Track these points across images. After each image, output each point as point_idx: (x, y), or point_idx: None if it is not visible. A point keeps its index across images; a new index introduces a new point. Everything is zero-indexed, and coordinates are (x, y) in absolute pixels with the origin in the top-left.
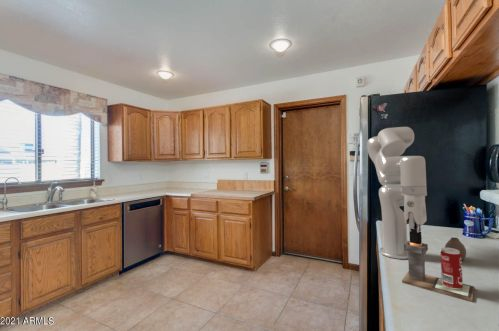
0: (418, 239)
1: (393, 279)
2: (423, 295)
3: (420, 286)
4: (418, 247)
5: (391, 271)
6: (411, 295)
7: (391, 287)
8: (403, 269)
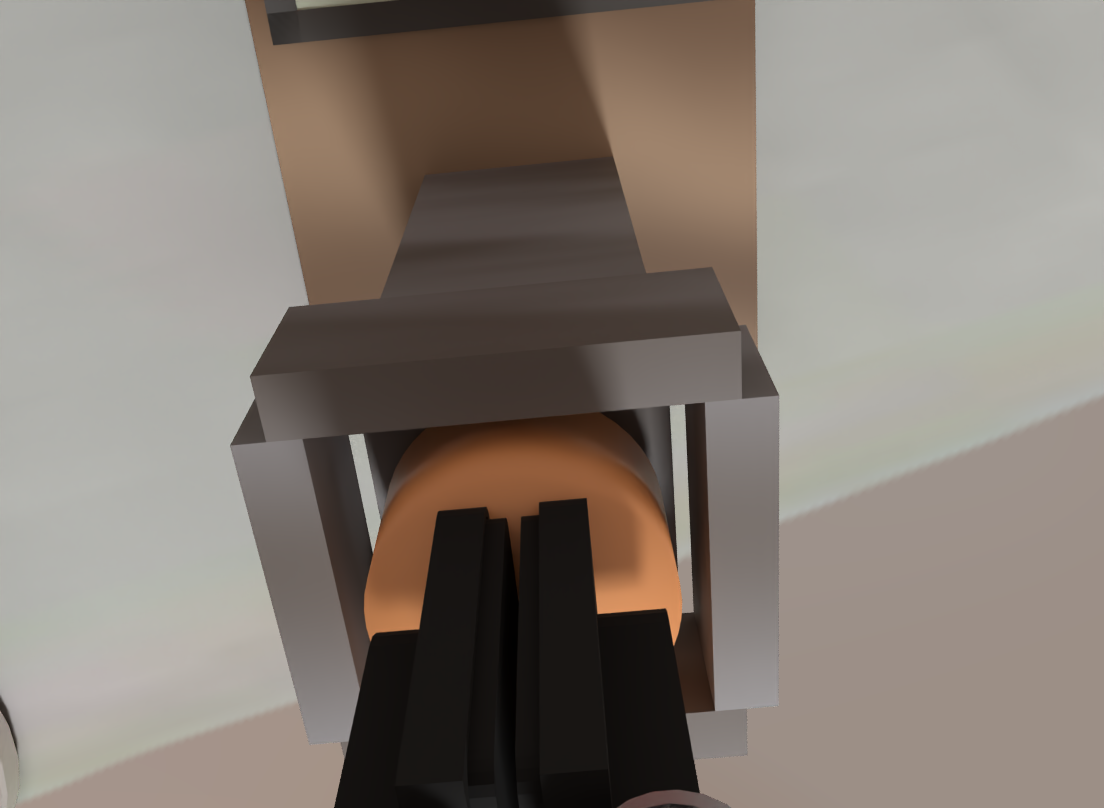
0: (601, 623)
1: None
2: (977, 41)
3: (754, 145)
4: (776, 462)
5: None
6: (1075, 158)
7: (988, 405)
8: None
